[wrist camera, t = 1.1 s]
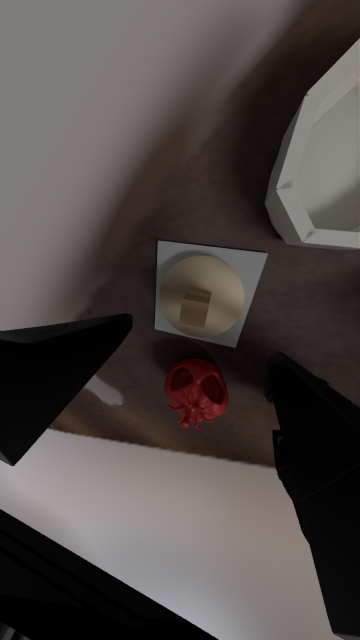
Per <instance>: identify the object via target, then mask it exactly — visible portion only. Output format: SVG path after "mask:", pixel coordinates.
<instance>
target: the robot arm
mask: <svg viewBox="0 0 360 640" xmlns="http://www.w3.org/2000/svg"><path fill="white" fill-rule="evenodd" d="M132 326H133V317H132V315H131V314H128V313H124V314H118V315H111V316H105V317H99V318H92V319H86V320H80V321H74V322H70V323H69V322H67V323H61V324H54V325H47V326H39V327H32V328H23V329H15V330H7V331H0V460H2V461H3V462H5V463H7V464H9V465H11V466H14V465H15V464H16V463H17V462H18V461H19V460H20V459H21V458H22V457H23V456H24V454H25V453H26V452H27V451H28V450H29V449H30V448H31V446H32V445H33V444H34V443H35V442H36V441H37V439H38V438H39V437H40V436H41V435H42V434H43V433H44V432H45V430H46V429H47V428H48V427H49V426H50V425H51V424H52V423H53V421H54V420H55V419H56V418H57V417H58V416H59V415H60V413H61V412H62V411H63V410H64V408H66V406H67V405H68V404H69V403H70V402H71V401H72V400H73V398H74V397H75V396H76V395H77V394H78V393H79V392H80V390H81V389H82V388H83V387H84V386H85V385H86V384H87V382H88V381H89V380H90V379H91V378H92V377H93V376H94V374H95V373H96V372H97V371H98V370H99V369H100V368H101V366H102V365H103V364H104V363H105V362H106V361H107V360H108V358H109V357H110V356H111V355H112V354H113V353H114V352H115V350H116V349H117V348H118V347H119V346H120V345H121V343H122V342H123V340H124V339H125V338H126V336H127V335H128V333H129V332H130V330H131V329H132ZM267 368H268V376H269V383H270V391H269V393H268V395H267V397H266V399H267V401H268V402H270V403H274V406H275V410H276V414H277V418H278V422H279V426H280V430H272V434H273V447H274V456H275V466H276V470H277V474H278V477H279V479H280V480H281V481H282V483H283V486H284V487H285V489H286V491H287V493H288V495H289V496H290V498H291V499H292V501H293V504H294V507H295V510H296V514H297V517H298V520H299V524H300V527H301V530H302V533H303V534H304V536H305V538H306V540H307V541H308V543H309V544H310V548H311V552H312V556H313V560H314V564H315V568H316V572H317V576H318V580H319V584H320V588H321V592H322V596H323V600H324V604H325V608H326V612H327V616H328V619H329V623H330V626H331V629H332V632H333V634H335V635H337V636H338V637H340V638H342V639H344V640H360V407H358V406H357V405H355V404H353V403H352V402H351V401H350V400H348V399H347V398H346V397H344V396H343V395H341V394H340V393H339V392H337V391H336V390H334V389H333V388H331V385H330V384H329V383H327V382H324V381H322V380H320V379H319V378H317V377H316V376H315V375H313V374H312V373H310V372H309V371H308V370H306V369H305V368H303V367H302V366H301V365H299V364H298V363H296V362H295V361H293V360H292V359H291V358H289V357H288V356H286V355H285V354H284V353H282V352H278V351H274V352H273V353H272V355H271V357H270V359H269V361H268V363H267ZM0 640H218V639H217V638H215V637H214V636H212V635H210V634H209V633H207V632H205V631H204V630H202V629H201V628H199V627H197V626H196V625H194V624H192V623H191V622H189V621H187V620H186V619H184V618H182V617H181V616H179V615H177V614H176V613H174V612H172V611H170V610H169V609H167V608H166V607H164V606H162V605H161V604H159V603H157V602H156V601H154V600H152V599H150V598H149V597H147V596H145V595H144V594H142V593H140V592H139V591H137V590H135V589H133V588H132V587H130V586H128V585H127V584H125V583H123V582H122V581H120V580H119V579H117V578H115V577H114V576H112V575H110V574H108V573H107V572H105V571H103V570H102V569H100V568H98V567H97V566H95V565H93V564H92V563H90V562H88V561H87V560H85V559H83V558H82V557H80V556H78V555H77V554H75V553H73V552H72V551H70V550H68V549H67V548H65V547H63V546H61V545H60V544H58V543H56V542H55V541H53V540H51V539H50V538H48V537H46V536H45V535H43V534H41V533H40V532H38V531H36V530H35V529H33V528H31V527H30V526H28V525H26V524H25V523H23V522H21V521H19V520H18V519H16V518H15V517H13V516H11V515H9V514H8V513H6V512H4V511H3V510H1V509H0Z"/></svg>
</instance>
